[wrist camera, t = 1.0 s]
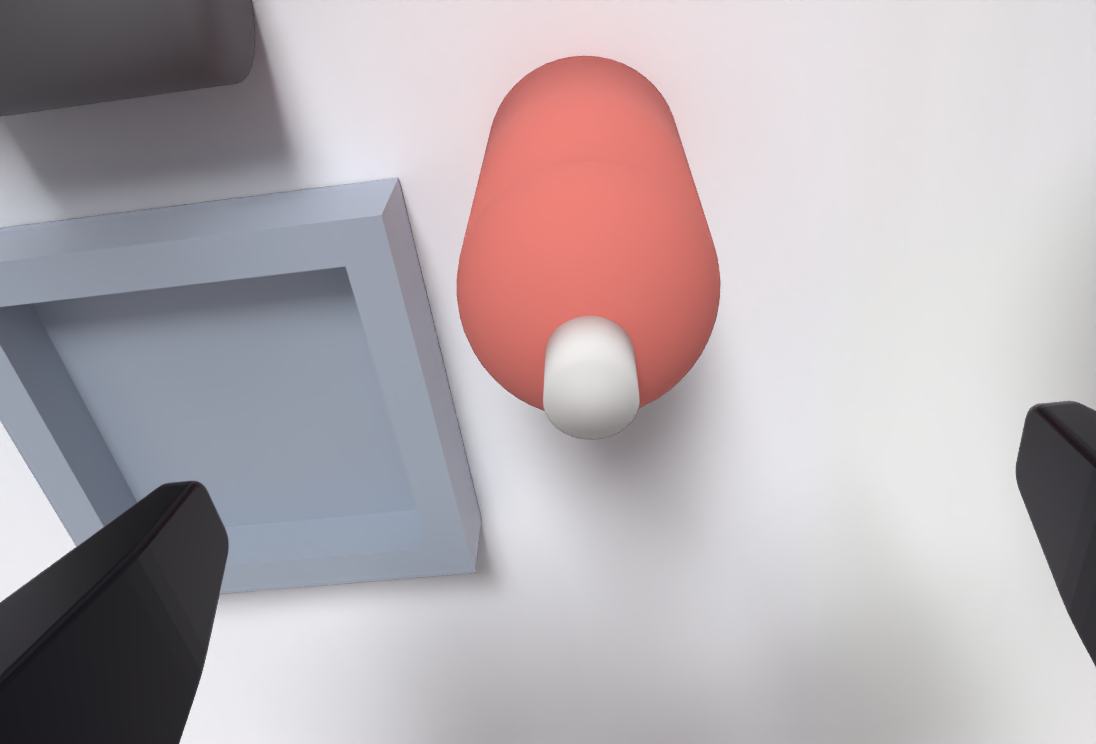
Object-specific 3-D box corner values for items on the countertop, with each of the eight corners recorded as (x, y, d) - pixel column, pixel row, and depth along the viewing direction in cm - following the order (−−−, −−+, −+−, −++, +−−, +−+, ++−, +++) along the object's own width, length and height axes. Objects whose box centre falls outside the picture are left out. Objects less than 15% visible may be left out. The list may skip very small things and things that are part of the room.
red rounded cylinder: (672, 43, 17) (751, 236, 10) (683, 229, 19) (754, 506, 12) (472, 70, 17) (398, 277, 10) (505, 250, 20) (464, 531, 12)
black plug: (230, -107, 16) (132, -169, 13) (268, 87, 17) (187, 78, 14) (-133, -49, 17) (-314, -92, 14) (-76, 135, 18) (-234, 137, 15)
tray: (398, 177, 19) (381, 215, 17) (481, 519, 24) (474, 573, 22) (-33, 232, 20) (-89, 272, 18) (141, 549, 25) (110, 602, 23)
